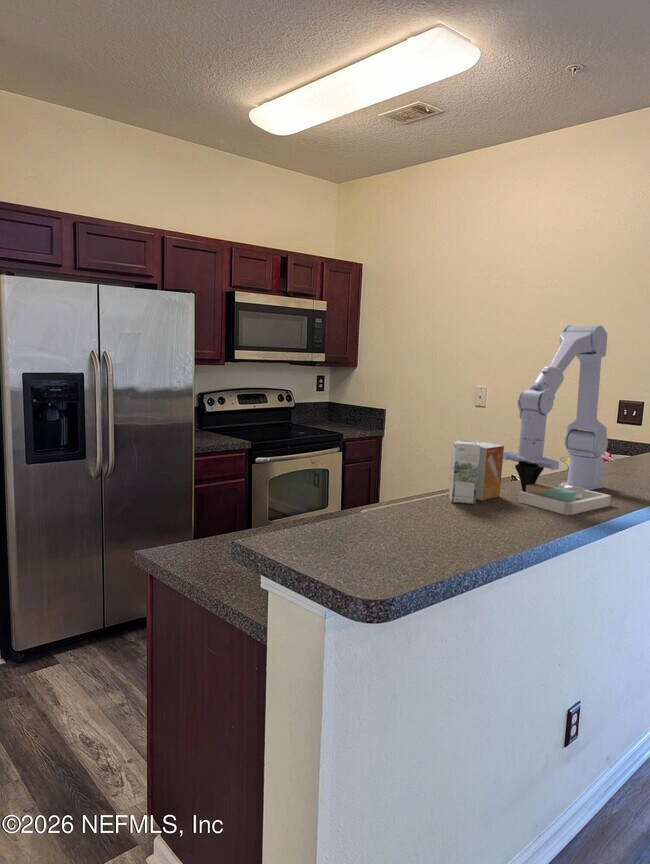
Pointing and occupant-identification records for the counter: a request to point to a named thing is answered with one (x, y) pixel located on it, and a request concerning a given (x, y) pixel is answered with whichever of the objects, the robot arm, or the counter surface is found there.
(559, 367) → the robot arm
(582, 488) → the aluminium part
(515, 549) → the counter surface
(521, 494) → the frame
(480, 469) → the small box
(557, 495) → the teal block
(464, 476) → the syrup box
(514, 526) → the counter surface
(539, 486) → the oak block
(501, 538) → the counter surface
